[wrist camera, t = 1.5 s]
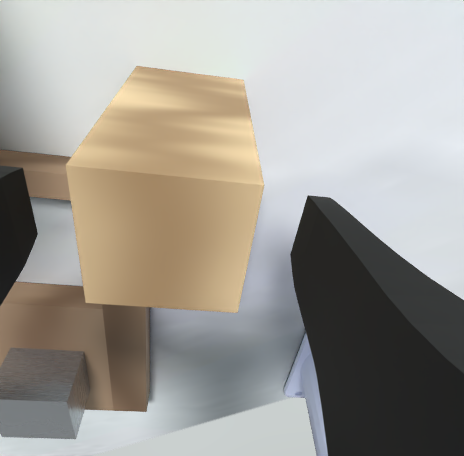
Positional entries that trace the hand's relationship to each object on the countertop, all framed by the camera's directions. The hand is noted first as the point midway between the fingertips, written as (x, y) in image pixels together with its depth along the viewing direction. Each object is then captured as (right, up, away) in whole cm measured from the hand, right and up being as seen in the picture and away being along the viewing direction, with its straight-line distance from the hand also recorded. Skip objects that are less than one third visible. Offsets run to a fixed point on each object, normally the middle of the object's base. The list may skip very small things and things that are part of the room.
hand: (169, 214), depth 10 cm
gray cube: (-9, -8, +14) cm, 18 cm away
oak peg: (0, +4, +5) cm, 7 cm away
